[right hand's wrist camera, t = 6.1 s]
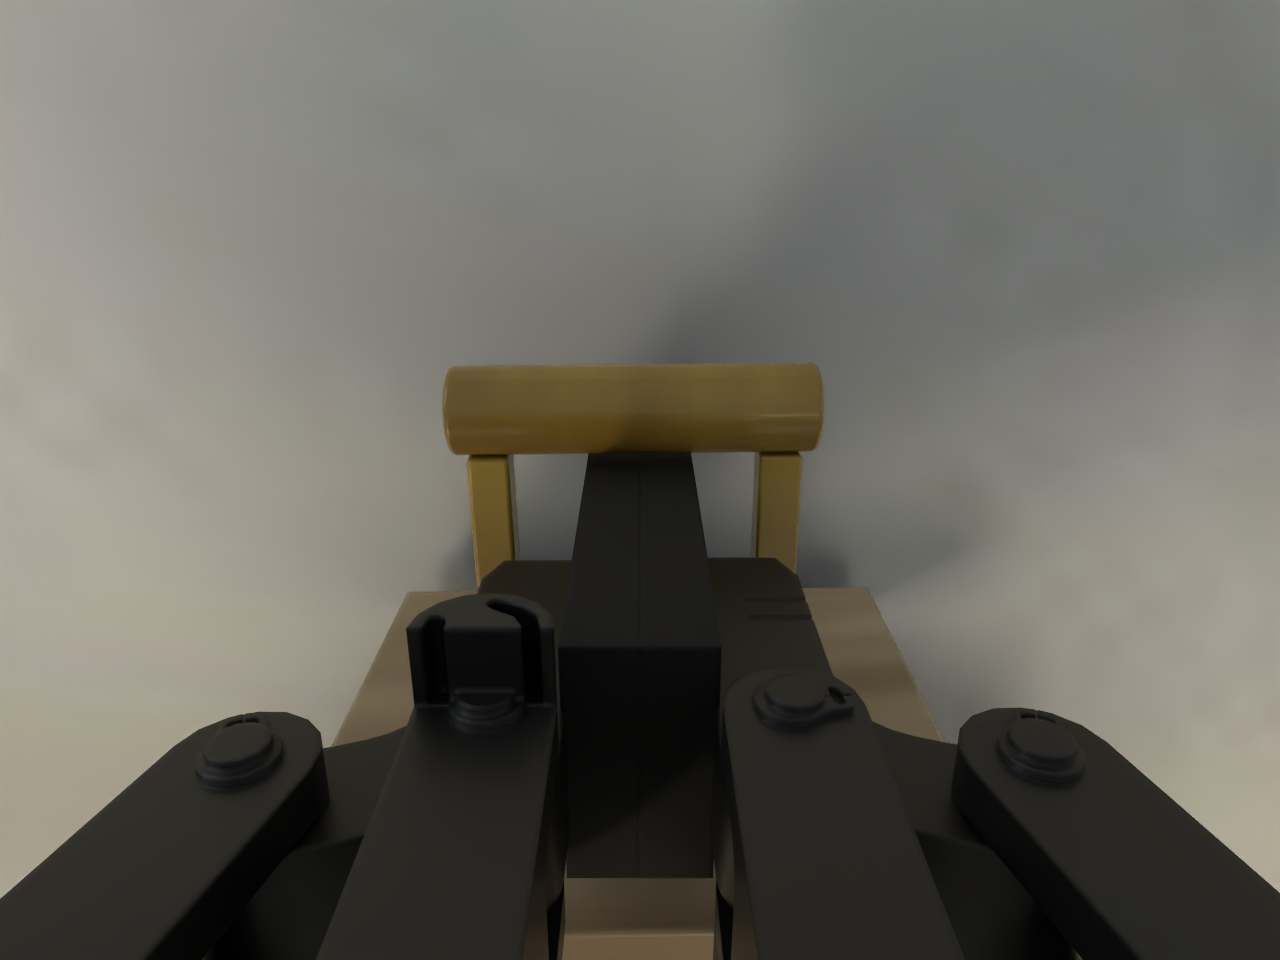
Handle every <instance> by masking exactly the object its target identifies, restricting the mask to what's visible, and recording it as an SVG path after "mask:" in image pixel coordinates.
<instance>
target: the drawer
mask: <svg viewBox="0 0 1280 960" xmlns="http://www.w3.org/2000/svg"><path fill="white" fill-rule="evenodd" d="M442 412H443V425H444V433H445V438H446V441H447V444H448V447H449V449H450V451H451V452H452V453H453V454H456V455H470V456H469V458H468V460H467V462H466V465H467V477H468V488H469V500H470V512H471V523H472V535H473V547H474V558H475V570H476V582H477V591H430V592H408V593H407V594H406V597H405V599H404V601H403V603H402V605H401V607H400V609H399V611H398V613H397V615H396V617H395V619H394V621H393V623H392V625H391V627H390V629H389V631H388V633H387V635H386V637H385V639H384V641H383V643H382V645H381V647H380V649H379V651H378V653H377V655H376V657H375V659H374V661H373V663H372V666H371V668H370V670H369V672H368V674H367V676H366V678H365V680H364V682H363V684H362V686H361V688H360V690H359V692H358V694H357V696H356V698H355V700H354V702H353V704H352V706H351V708H350V710H349V712H348V714H347V716H346V718H345V720H344V722H343V724H342V726H341V728H340V730H339V732H338V735H337V737H336V739H335V741H334V743H333V745H332V747H333V746H338V745H343V744H348V743H353V742H357V741H362V740H367V739H370V738H374V737H377V736H381V735H385V734H388V733H390V732H393V731H395V730H397V729H400V728H402V727H404V726H406V725H407V724H408V721H409V719H410V716H411V713H412V711H413V708H414V699H413V689H412V680H411V671H410V661H409V652H408V643H407V633H406V628H407V626H408V625H409V624H410V623H411V622H412V621H413V619H414V618H415V617H416V616H417V615H418V614H419V613H421V612H423V611H424V610H426V609H428V608H430V607H432V606H433V605H435V604H437V603H439V602H442V601H446V600H449V599H453V598H456V597H460V596H463V595H473V594H477V592H478V589H479V586H480V584H481V581H482V579H483V578H484V577H485V576H486V575H488V574H489V573H490V572H491V571H492V570H494V569H495V568H496V567H497V566H498V565H500V564H501V563H502V562H503V561H518V560H520V547H519V532H518V517H517V501H516V486H515V471H514V455H516V454H612V453H709V452H755V462H754V488H753V513H752V539H751V558H776V559H778V560H779V561H780V562H781V563H783V564H784V565H785V566H786V567H787V568H789V569H790V570H791V571H792V572H794V573H795V574H796V557H797V540H798V523H799V507H800V490H801V473H802V456H801V454H800V452H806V451H813V450H815V449H817V447H818V445H819V442H820V439H821V435H822V430H823V421H824V391H823V382H822V377H821V373H820V370H819V368H818V366H817V365H816V364H814V363H812V362H784V363H688V364H592V365H497V366H454V367H451V368H450V369H449V370H448V372H447V375H446V378H445V382H444V387H443V400H442ZM802 589H803V592H804V595H805V601H806V602H807V603H808V606H809V609H810V612H811V614H812V620H814V623H815V626H816V628H817V631H818V634H819V637H820V640H821V642H822V645H823V648H824V651H825V654H826V657H827V659H828V662H829V665H830V668H831V671H832V673H833V676H834V677H836V678H838V679H839V680H841V681H842V682H844V683H845V684H847V685H848V686H850V687H851V688H853V689H854V690H855V691H856V692H857V694H858V695H859V696H860V698H861V699H862V701H863V702H864V703H865V705H866V707H867V710H868V712H869V715H870V717H871V720H872V721H873V722H875V723H878V724H880V725H882V726H885V727H887V728H889V729H891V730H895V731H898V732H902V733H905V734H909V735H913V736H917V737H922V738H927V739H931V740H936V741H941V742H944V740H943V738H942V736H941V734H940V732H939V730H938V728H937V726H936V724H935V722H934V720H933V718H932V716H931V714H930V712H929V710H928V708H927V706H926V704H925V702H924V700H923V698H922V696H921V694H920V692H919V690H918V688H917V686H916V684H915V682H914V680H913V678H912V676H911V674H910V672H909V670H908V668H907V666H906V664H905V662H904V660H903V658H902V656H901V654H900V652H899V650H898V648H897V646H896V644H895V642H894V640H893V638H892V636H891V634H890V632H889V630H888V628H887V626H886V624H885V622H884V620H883V618H882V616H881V614H880V612H879V610H878V608H877V606H876V604H875V602H874V600H873V598H872V596H871V594H870V592H869V590H868V588H865V587H822V588H802ZM564 893H565V918H566V923H565V934H564V945H563V956H562V960H713V944H714V918H715V893H716V873H715V863H714V867H713V878H567V871H566V866H565V876H564Z"/></svg>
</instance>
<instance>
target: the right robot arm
mask: <svg viewBox="0 0 1280 960" xmlns="http://www.w3.org/2000/svg"><path fill="white" fill-rule="evenodd" d="M406 633H407V643H408V652H409V661H410V671H411V680H412V689H413V699H414V708H413V711H412V713H411V716H410V719H409V721H408V724H407V725H406V726H404V727H402V728H400V729H397V730H395V731H393V732H390V733H388V734H385V735H381V736H377V737H374V738H370V739H367V740H362V741H357V742H353V743H348V744H343V745H338V746H333V747H329V748H324V749H323V746H322V740H321V733H320V732H319V731H318V730H317V729H316V727H315V726H314V725H313V724H312V723H311V722H310V721H309V720H308V719H305V718H302V717H299V716H296V715H293V714H290V713H287V712H255V713H247V714H245V715H242V714H241V715H237V716H233V717H229V718H226V719H224V720H221V721H219V722H216V723H214V724H211V725H209V726H206V727H204V728H202V729H199V730H198V731H196V732H195V733H193V734H192V735H190V736H189V737H187V738H186V739H184V740H183V741H181V742H180V743H178V744H177V745H175V746H174V747H173V748H172V749H170V750H169V751H168V752H167V753H166V754H165V755H164V756H163V757H161V758H160V759H159V760H158V761H157V762H156V763H155V764H153V765H152V766H151V767H150V768H149V769H148V770H147V771H145V772H144V773H143V774H142V775H141V776H140V777H139V778H137V779H136V780H135V781H134V782H133V783H132V784H131V785H130V786H128V787H127V788H126V789H125V790H124V791H123V792H122V793H120V794H119V795H118V796H117V797H116V798H115V799H114V800H112V801H111V802H110V803H109V804H108V805H107V806H106V807H104V808H103V809H102V810H101V811H100V812H99V813H98V814H97V815H95V816H94V817H93V818H92V819H91V820H90V821H89V822H87V823H86V824H85V825H84V826H83V827H82V828H81V829H79V830H78V831H77V832H76V833H75V834H74V835H73V836H72V837H70V838H69V839H68V840H67V841H66V842H65V843H64V844H62V845H61V846H60V847H59V848H58V849H57V850H56V851H54V852H53V853H52V854H51V855H50V856H49V857H48V858H46V859H45V860H44V861H43V862H42V863H41V864H40V865H39V866H37V867H36V868H35V869H34V870H33V871H32V872H31V873H29V874H28V875H27V876H26V877H25V878H24V879H23V880H21V881H20V882H19V883H18V884H17V885H16V886H15V887H13V888H12V889H11V890H10V891H9V892H8V893H7V894H6V895H4V896H3V897H2V898H1V899H0V960H562V956H563V945H564V934H565V923H566V918H565V893H564V876H565V866H566V871H567V878H713V867H714V863H715V873H716V893H715V918H714V944H713V960H1280V893H1279V892H1278V891H1277V890H1276V889H1275V888H1273V887H1272V886H1271V885H1270V884H1269V883H1268V882H1267V881H1265V880H1264V879H1263V878H1262V877H1261V876H1260V875H1259V874H1257V873H1256V872H1255V871H1254V870H1253V869H1252V868H1250V867H1249V866H1248V865H1247V864H1246V863H1245V862H1244V861H1242V860H1241V859H1240V858H1239V857H1238V856H1237V855H1236V854H1234V853H1233V852H1232V851H1231V850H1230V849H1229V848H1228V847H1226V846H1225V845H1224V844H1223V843H1222V842H1221V841H1220V840H1218V839H1217V838H1216V837H1215V836H1214V835H1213V834H1211V833H1210V832H1209V831H1208V830H1207V829H1206V828H1205V827H1203V826H1202V825H1201V824H1200V823H1199V822H1198V821H1197V820H1195V819H1194V818H1193V817H1192V816H1191V815H1190V814H1189V813H1187V812H1186V811H1185V810H1184V809H1183V808H1182V807H1181V806H1179V805H1178V804H1177V803H1176V802H1175V801H1174V800H1172V799H1171V798H1170V797H1169V796H1168V795H1167V794H1166V793H1164V792H1163V791H1162V790H1161V789H1160V788H1159V787H1158V786H1156V785H1155V784H1154V783H1153V782H1152V781H1151V780H1150V779H1148V778H1147V777H1146V776H1145V775H1144V774H1143V773H1142V772H1140V771H1139V770H1138V769H1137V768H1136V767H1135V766H1133V765H1132V764H1131V763H1130V762H1129V761H1128V760H1127V759H1125V758H1124V757H1123V756H1122V755H1121V754H1120V753H1119V752H1117V751H1116V750H1115V749H1114V748H1113V747H1112V746H1111V745H1109V744H1108V743H1107V742H1106V741H1104V740H1103V739H1101V738H1100V737H1098V736H1097V735H1095V734H1094V733H1092V732H1091V731H1089V730H1088V729H1086V728H1085V727H1083V726H1082V725H1079V724H1077V723H1074V722H1072V721H1069V720H1067V719H1064V718H1062V717H1059V716H1057V715H1055V714H1052V713H1048V712H1044V711H1040V710H1038V711H1036V710H1034V709H1026V708H994V709H991V710H988V711H985V712H982V713H979V714H976V715H973V716H972V717H971V718H970V719H969V720H968V721H967V722H966V723H965V724H964V725H963V726H962V727H961V728H960V732H959V739H958V745H956V744H951V743H946V742H941V741H936V740H931V739H927V738H922V737H917V736H913V735H909V734H905V733H902V732H898V731H895V730H891V729H889V728H887V727H885V726H882V725H880V724H878V723H875V722H873V721H872V720H871V717H870V715H869V712H868V710H867V707H866V705H865V703H864V702H863V701H862V699H861V698H860V696H859V695H858V694H857V692H856V691H855V690H854V689H853V688H851V687H850V686H848V685H847V684H845V683H844V682H842V681H841V680H839V679H838V678H836V677H834V676H833V673H832V671H831V668H830V665H829V662H828V659H827V657H826V654H825V651H824V648H823V645H822V642H821V640H820V637H819V634H818V631H817V628H816V626H815V623H814V620H812V614H811V612H810V609H809V606H808V603H807V602H806V601H805V595H804V592H803V589H802V586H801V583H800V581H799V578H798V576H797V575H796V574H795V573H794V572H792V571H791V570H790V569H789V568H787V567H786V566H785V565H784V564H783V563H781V562H780V561H779V560H778V559H776V558H708V557H707V551H706V545H705V538H704V532H703V526H702V520H701V513H700V507H699V501H698V494H697V488H696V482H695V475H694V469H693V463H692V457H691V453H612V454H589V455H588V461H587V468H586V474H585V480H584V487H583V493H582V499H581V506H580V512H579V518H578V524H577V531H576V537H575V543H574V550H573V556H572V560H518V561H503V562H502V563H501V564H500V565H498V566H497V567H496V568H495V569H494V570H492V571H491V572H490V573H489V574H488V575H486V576H485V577H484V578H483V579H482V581H481V584H480V586H479V589H478V592H477V594H473V595H463V596H460V597H456V598H453V599H449V600H446V601H442V602H439V603H437V604H435V605H433V606H432V607H430V608H428V609H426V610H424V611H423V612H421V613H419V614H418V615H417V616H416V617H415V618H414V619H413V621H412V622H411V623H410V624H409V625H408V626H407V628H406Z"/></svg>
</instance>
